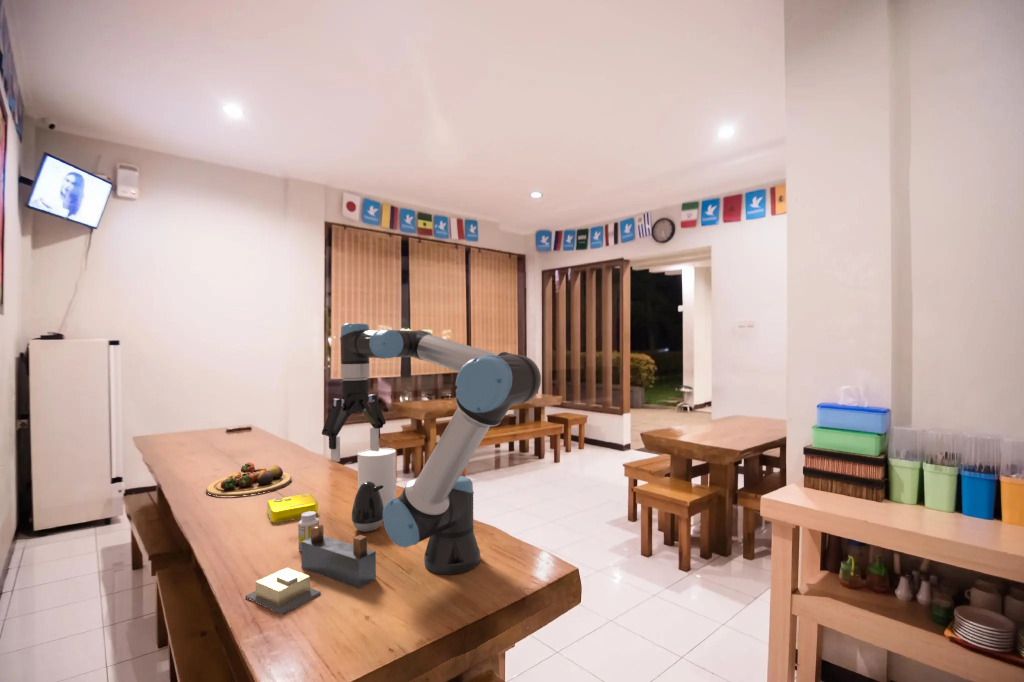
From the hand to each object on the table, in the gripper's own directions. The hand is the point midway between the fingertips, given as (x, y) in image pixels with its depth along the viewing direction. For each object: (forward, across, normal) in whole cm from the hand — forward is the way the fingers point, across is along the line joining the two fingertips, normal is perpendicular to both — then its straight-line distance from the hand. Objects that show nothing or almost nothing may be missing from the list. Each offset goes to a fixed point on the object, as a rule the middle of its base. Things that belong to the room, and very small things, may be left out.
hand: (355, 455), depth 131 cm
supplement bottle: (+29, +2, -18) cm, 34 cm away
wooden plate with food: (+29, -26, -96) cm, 103 cm away
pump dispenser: (+29, -17, -14) cm, 36 cm away
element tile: (+29, -14, -50) cm, 59 cm away
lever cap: (+28, +22, 0) cm, 36 cm away
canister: (+29, -34, -28) cm, 53 cm away
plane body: (+29, +8, +2) cm, 30 cm away
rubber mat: (+29, +22, 0) cm, 36 cm away
